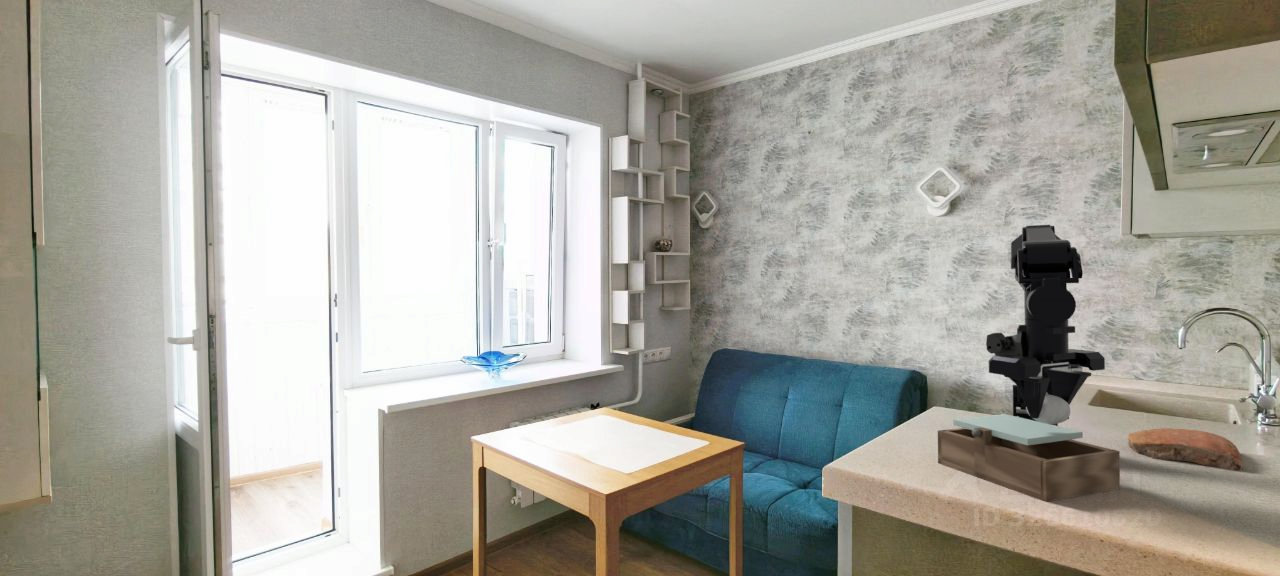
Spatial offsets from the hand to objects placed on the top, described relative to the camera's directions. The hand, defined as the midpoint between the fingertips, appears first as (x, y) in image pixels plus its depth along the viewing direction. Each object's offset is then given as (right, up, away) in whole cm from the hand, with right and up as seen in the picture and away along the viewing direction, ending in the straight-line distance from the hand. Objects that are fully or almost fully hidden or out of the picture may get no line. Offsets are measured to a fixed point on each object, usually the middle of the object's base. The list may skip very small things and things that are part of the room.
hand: (1047, 416), depth 95 cm
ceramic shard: (+34, -11, +14) cm, 39 cm away
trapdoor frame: (-1, -11, +4) cm, 11 cm away
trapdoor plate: (-2, -4, +5) cm, 7 cm away
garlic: (0, -1, 0) cm, 1 cm away
